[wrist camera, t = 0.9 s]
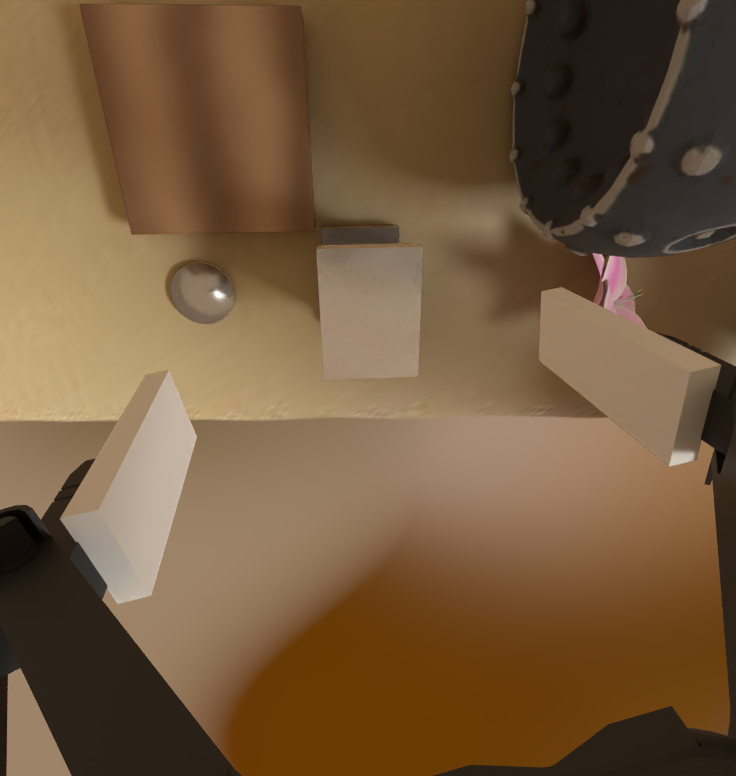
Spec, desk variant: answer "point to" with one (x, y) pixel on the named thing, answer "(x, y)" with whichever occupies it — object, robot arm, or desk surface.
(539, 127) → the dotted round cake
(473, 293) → the desk surface
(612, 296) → the lily
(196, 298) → the domed puck
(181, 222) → the walnut stand
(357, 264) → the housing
